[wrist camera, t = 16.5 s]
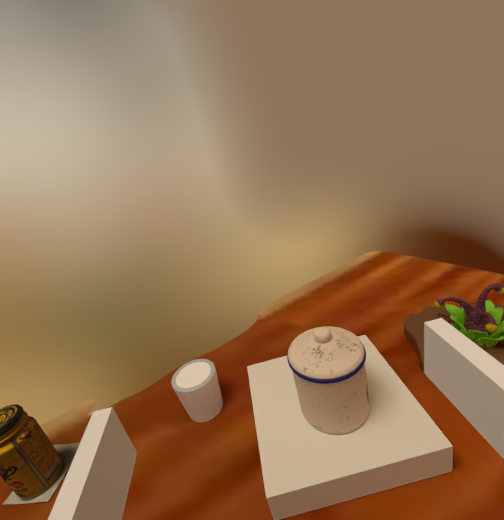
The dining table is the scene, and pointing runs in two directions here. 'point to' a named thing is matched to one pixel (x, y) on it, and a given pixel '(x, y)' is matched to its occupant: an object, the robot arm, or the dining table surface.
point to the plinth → (341, 441)
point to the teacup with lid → (330, 378)
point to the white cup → (198, 389)
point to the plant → (463, 323)
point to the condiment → (30, 458)
